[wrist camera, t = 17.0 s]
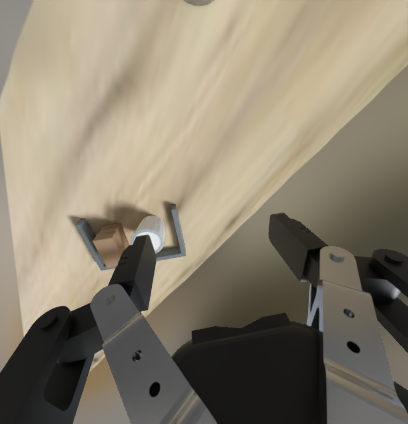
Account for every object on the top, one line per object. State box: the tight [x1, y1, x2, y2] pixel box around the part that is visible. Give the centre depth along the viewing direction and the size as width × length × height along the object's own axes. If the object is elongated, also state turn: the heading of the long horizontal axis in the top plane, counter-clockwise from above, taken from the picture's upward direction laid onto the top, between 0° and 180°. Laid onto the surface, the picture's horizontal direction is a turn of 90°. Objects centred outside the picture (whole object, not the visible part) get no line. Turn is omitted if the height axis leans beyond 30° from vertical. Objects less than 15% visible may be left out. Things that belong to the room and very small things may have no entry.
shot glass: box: [131, 215, 164, 253], centre depth 40 cm, size 7×7×7 cm
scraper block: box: [93, 223, 129, 268], centre depth 41 cm, size 8×4×6 cm, turn 7°
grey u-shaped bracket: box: [75, 205, 186, 270], centre depth 42 cm, size 14×22×2 cm, turn 97°
